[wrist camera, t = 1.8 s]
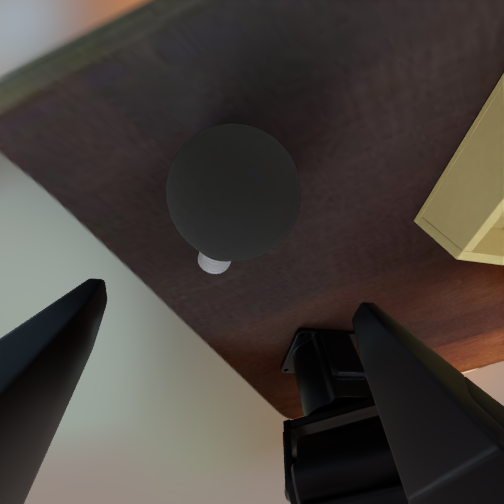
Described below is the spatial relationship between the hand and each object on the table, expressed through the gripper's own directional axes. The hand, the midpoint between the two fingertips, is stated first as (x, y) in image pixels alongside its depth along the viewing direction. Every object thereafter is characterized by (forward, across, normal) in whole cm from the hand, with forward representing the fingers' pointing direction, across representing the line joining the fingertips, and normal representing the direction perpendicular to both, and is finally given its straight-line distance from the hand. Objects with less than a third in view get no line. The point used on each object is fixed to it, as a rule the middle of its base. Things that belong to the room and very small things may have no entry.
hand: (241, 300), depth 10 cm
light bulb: (+9, 0, 0) cm, 9 cm away
